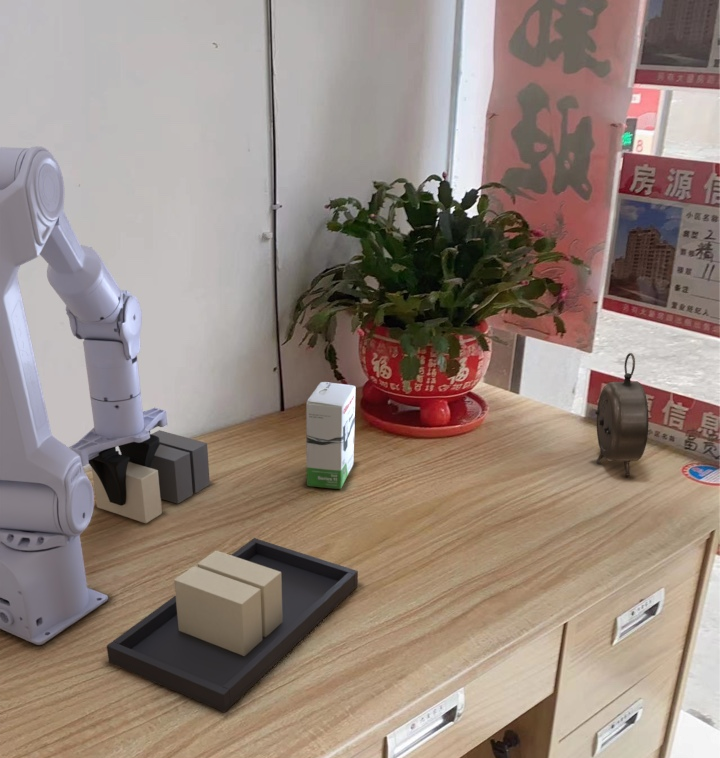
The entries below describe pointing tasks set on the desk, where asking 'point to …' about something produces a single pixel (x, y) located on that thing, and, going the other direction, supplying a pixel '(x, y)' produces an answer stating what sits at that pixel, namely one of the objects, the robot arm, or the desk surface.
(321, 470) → the ink box
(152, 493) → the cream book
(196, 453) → the gray rectangular block
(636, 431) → the alarm clock
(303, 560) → the tray
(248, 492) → the desk surface
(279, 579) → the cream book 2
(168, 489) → the gray rectangular block
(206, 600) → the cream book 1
